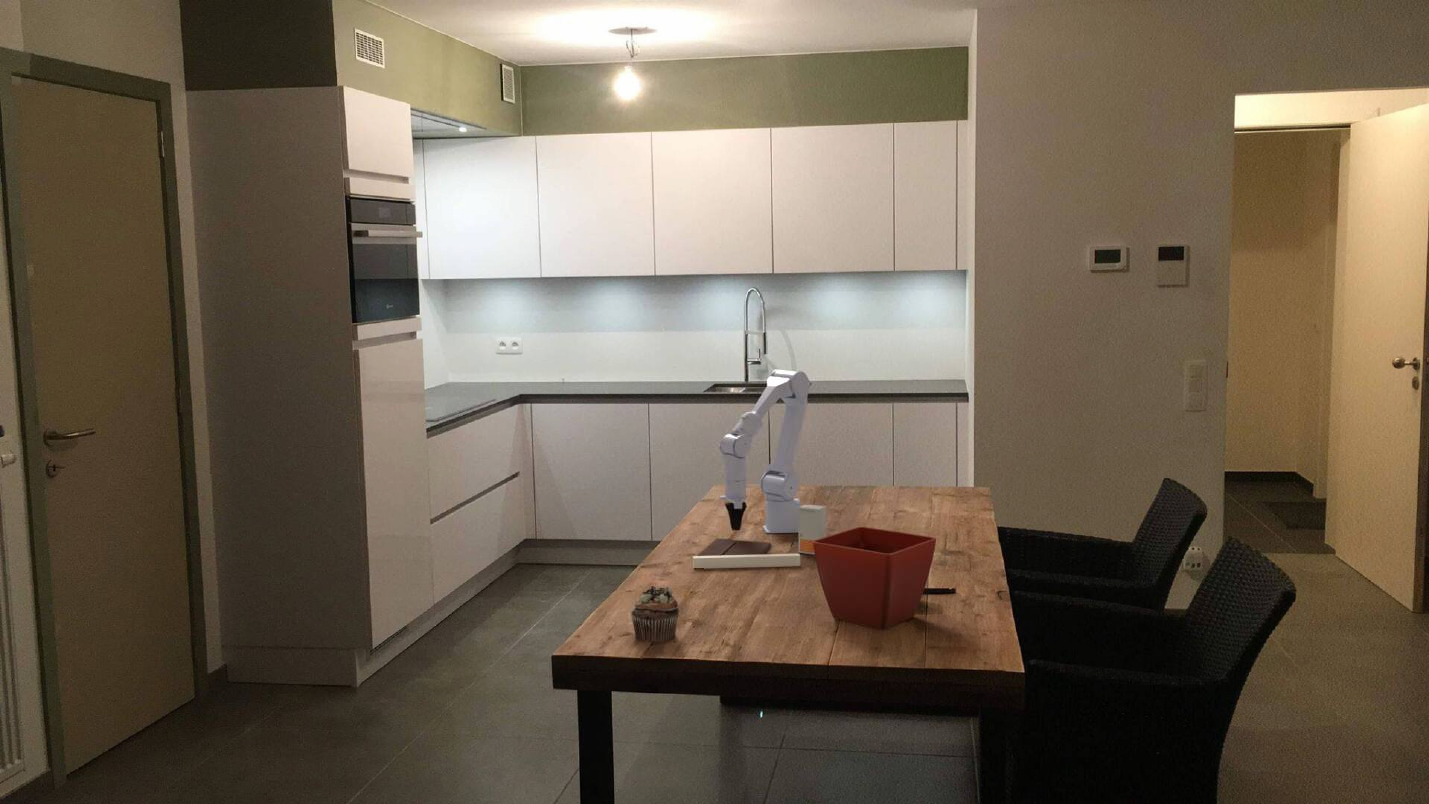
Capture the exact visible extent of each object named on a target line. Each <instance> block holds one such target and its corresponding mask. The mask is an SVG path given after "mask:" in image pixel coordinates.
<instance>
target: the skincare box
mask: <svg viewBox="0 0 1429 804" xmlns="http://www.w3.org/2000/svg"><path fill="white" fill-rule="evenodd" d="M826 530H827V506H825V505H816V504H802V505H800V507H799V532H798V538H797V539H798V543H797V544H798V546H797V547H798V548H797V549H798V550H797V551H798V553H797V554H807V555H814V556H815V553H814V546H813V541H814V540H818V539H821V538H824V537H827V531H826Z"/></svg>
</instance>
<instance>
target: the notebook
mask: <svg viewBox="0 0 1429 804" xmlns="http://www.w3.org/2000/svg"><path fill="white" fill-rule="evenodd" d="M771 548H772V543H771V542H768V541H753V540H737V539H735V540H734V539H730V538H716V539H714V540H713V541H712V542H711V543H709V544H708V546H706V547H705V548H704V549H703V550H701V551H700V552H699V553H698V554H697V555H696V556H723V555H764V554H767V552H768V551H769V550H771Z"/></svg>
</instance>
